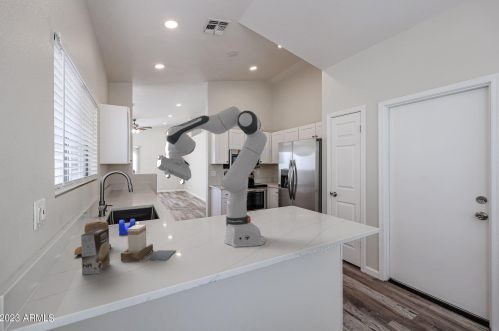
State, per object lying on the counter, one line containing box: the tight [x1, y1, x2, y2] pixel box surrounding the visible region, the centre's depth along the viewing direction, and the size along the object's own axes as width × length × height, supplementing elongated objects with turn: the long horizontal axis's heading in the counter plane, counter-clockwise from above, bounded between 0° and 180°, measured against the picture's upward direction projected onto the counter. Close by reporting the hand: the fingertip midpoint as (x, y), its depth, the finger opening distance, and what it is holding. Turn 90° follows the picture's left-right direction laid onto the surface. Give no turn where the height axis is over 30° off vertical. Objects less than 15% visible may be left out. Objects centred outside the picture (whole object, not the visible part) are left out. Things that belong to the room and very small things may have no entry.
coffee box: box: [80, 228, 111, 276], centre depth 96 cm, size 9×6×16 cm
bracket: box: [118, 218, 136, 236], centre depth 151 cm, size 18×8×9 cm, turn 19°
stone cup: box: [73, 220, 112, 256], centre depth 117 cm, size 15×12×15 cm
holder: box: [120, 243, 154, 262], centre depth 109 cm, size 9×12×4 cm
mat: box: [146, 249, 176, 262], centre depth 109 cm, size 9×11×1 cm
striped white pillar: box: [127, 224, 147, 253], centre depth 109 cm, size 5×7×14 cm
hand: (175, 180), depth 120 cm, fingers open, 8 cm apart
